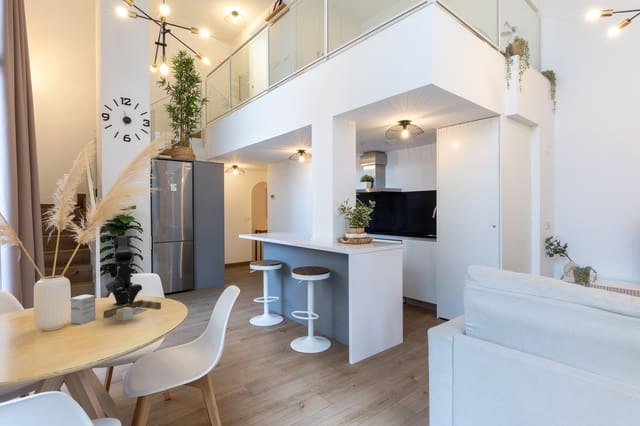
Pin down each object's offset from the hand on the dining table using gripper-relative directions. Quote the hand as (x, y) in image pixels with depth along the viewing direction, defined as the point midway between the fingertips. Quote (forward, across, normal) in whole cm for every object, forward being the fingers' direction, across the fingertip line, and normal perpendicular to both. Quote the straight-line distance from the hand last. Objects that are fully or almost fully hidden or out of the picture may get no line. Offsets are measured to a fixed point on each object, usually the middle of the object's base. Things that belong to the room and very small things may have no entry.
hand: (124, 303), depth 159 cm
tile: (+8, -4, +10) cm, 13 cm away
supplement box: (+8, -16, -10) cm, 20 cm away
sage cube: (+8, 0, 0) cm, 8 cm away
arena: (+8, -4, +8) cm, 12 cm away
